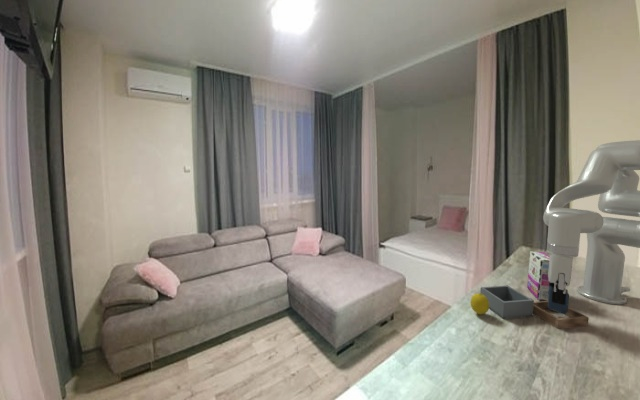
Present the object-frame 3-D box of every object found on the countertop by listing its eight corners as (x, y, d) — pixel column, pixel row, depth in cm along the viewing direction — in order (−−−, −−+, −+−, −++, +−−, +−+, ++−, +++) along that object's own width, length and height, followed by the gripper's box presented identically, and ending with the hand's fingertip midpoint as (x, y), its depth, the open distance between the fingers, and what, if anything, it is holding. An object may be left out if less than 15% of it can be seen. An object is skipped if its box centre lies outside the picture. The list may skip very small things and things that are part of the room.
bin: (506, 299, 95) (507, 285, 95) (532, 316, 84) (533, 300, 84) (479, 301, 95) (480, 287, 94) (502, 318, 84) (503, 302, 83)
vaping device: (549, 305, 86) (551, 273, 84) (569, 312, 81) (572, 279, 80) (545, 307, 85) (547, 275, 83) (565, 315, 80) (568, 281, 79)
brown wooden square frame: (554, 307, 89) (554, 300, 89) (587, 326, 78) (588, 317, 78) (527, 309, 88) (527, 302, 88) (557, 328, 78) (558, 320, 77)
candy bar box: (554, 302, 92) (557, 261, 90) (537, 300, 94) (540, 260, 92) (541, 289, 102) (544, 251, 100) (526, 287, 104) (529, 250, 102)
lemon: (491, 319, 84) (492, 298, 83) (473, 318, 85) (474, 297, 84) (484, 310, 89) (485, 290, 88) (467, 309, 90) (468, 289, 89)
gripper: (545, 240, 89) (542, 287, 91) (547, 254, 77) (543, 307, 79) (575, 244, 84) (570, 293, 86) (582, 259, 72) (576, 316, 74)
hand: (557, 299), depth 83 cm, fingers closed on vaping device, 3 cm apart
